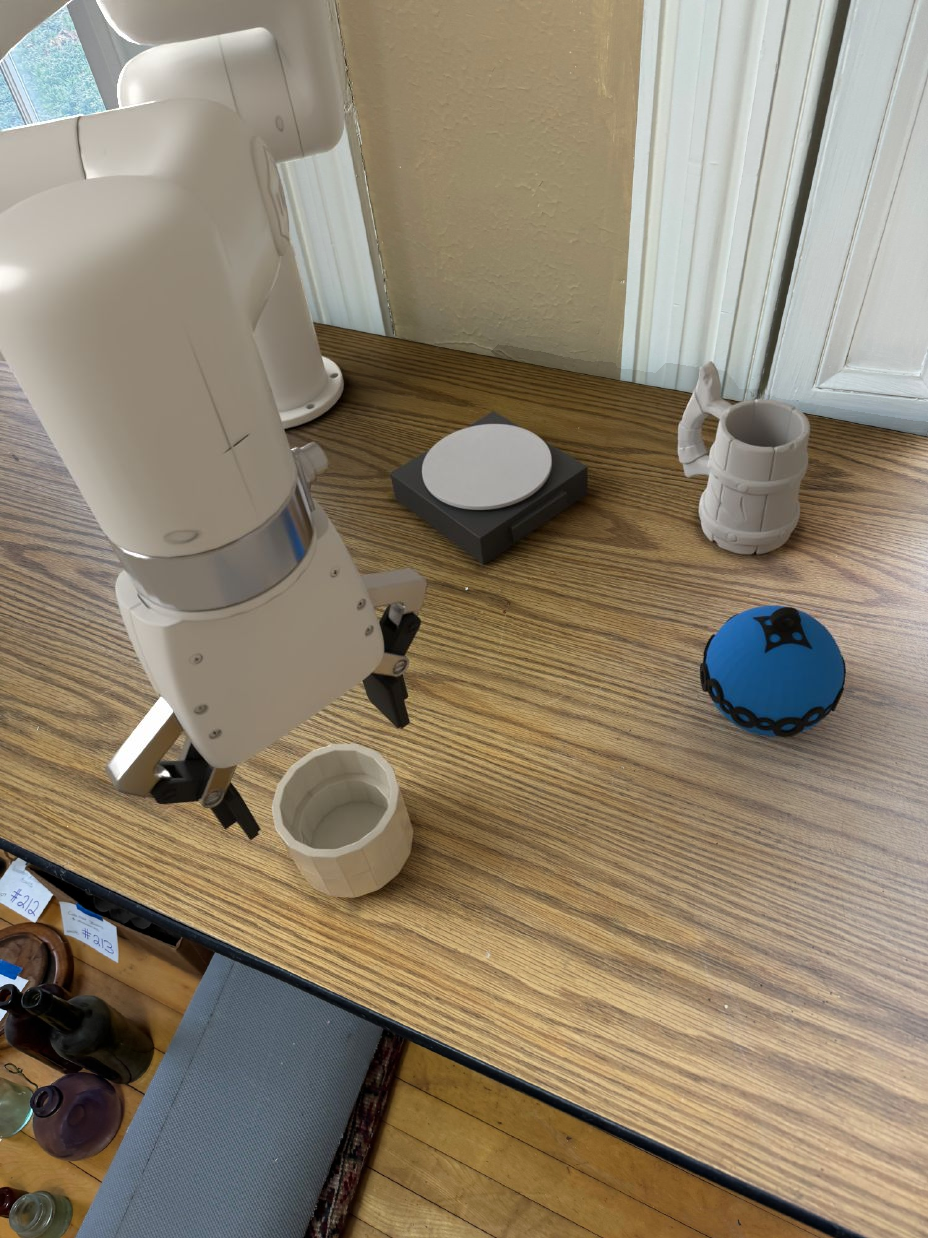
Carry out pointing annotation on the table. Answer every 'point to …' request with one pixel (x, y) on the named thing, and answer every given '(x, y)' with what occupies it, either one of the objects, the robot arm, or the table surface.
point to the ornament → (773, 671)
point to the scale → (489, 485)
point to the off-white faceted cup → (343, 819)
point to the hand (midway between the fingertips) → (318, 763)
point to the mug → (745, 466)
